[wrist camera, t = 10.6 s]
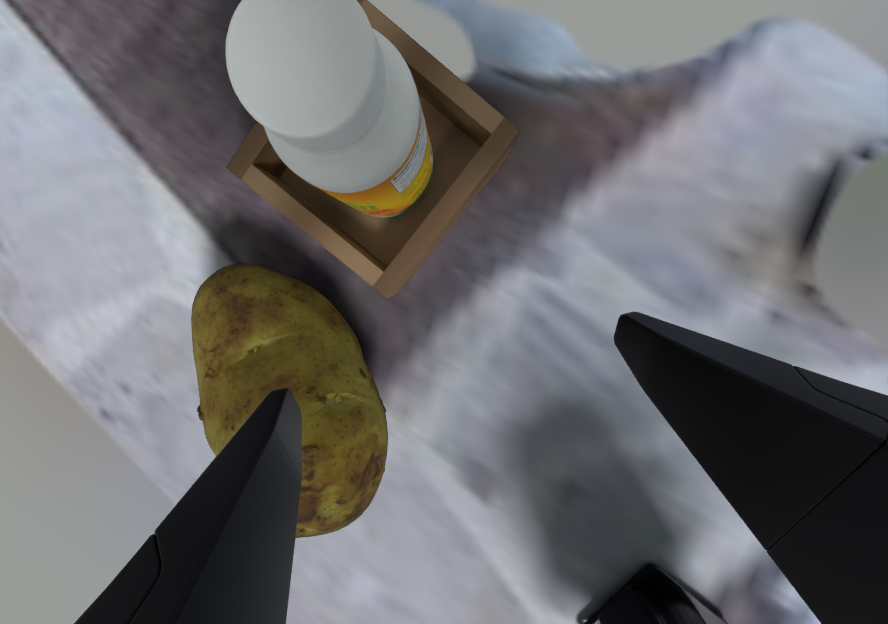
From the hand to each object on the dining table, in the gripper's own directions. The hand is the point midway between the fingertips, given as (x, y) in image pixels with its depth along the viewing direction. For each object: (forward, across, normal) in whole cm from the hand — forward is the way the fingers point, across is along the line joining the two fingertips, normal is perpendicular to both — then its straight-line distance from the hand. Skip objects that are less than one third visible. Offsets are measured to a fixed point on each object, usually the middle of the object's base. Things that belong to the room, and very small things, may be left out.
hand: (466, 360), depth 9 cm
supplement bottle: (+13, +1, -2) cm, 14 cm away
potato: (+10, +6, +8) cm, 14 cm away
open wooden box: (+14, +1, -2) cm, 14 cm away
